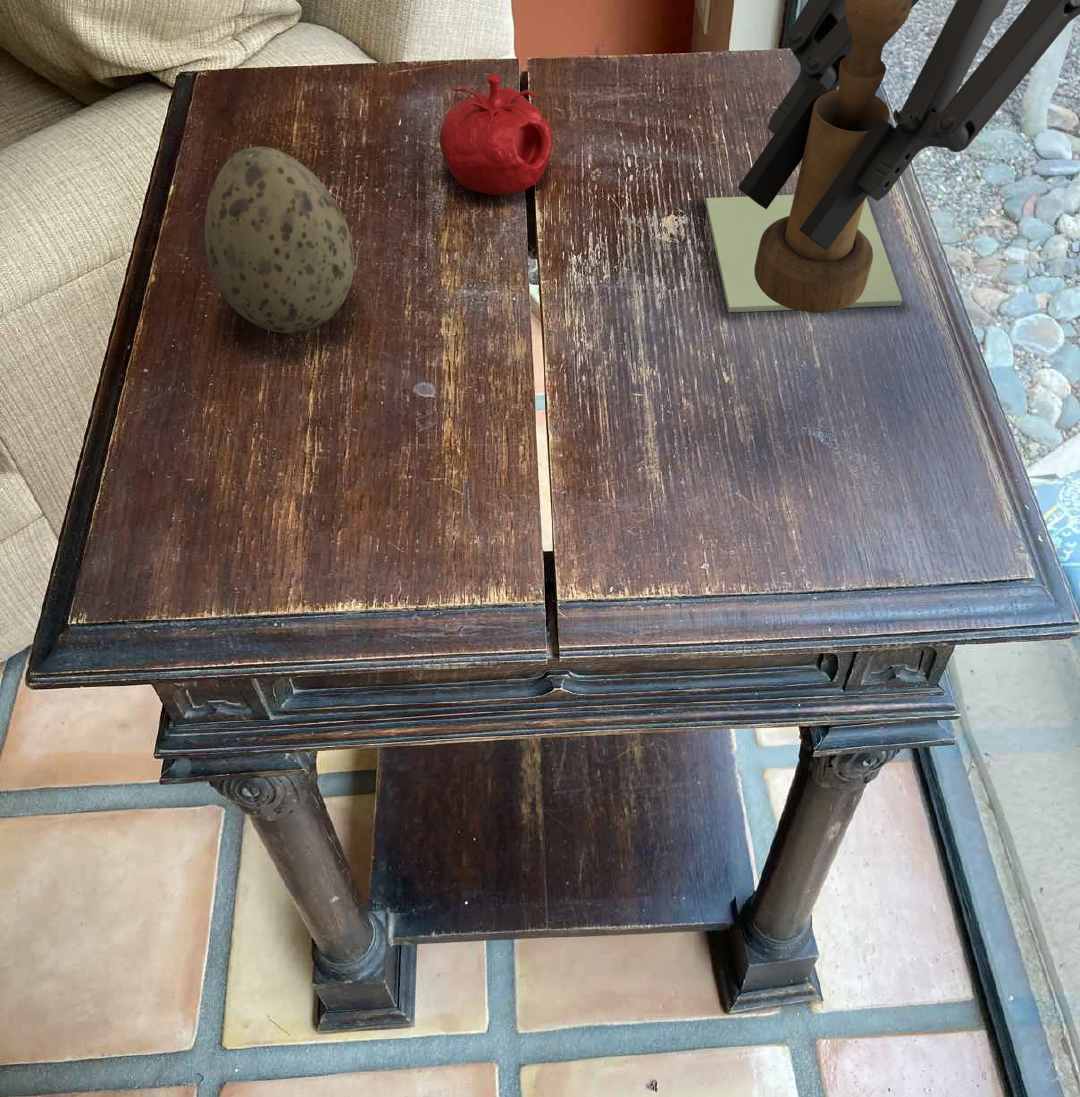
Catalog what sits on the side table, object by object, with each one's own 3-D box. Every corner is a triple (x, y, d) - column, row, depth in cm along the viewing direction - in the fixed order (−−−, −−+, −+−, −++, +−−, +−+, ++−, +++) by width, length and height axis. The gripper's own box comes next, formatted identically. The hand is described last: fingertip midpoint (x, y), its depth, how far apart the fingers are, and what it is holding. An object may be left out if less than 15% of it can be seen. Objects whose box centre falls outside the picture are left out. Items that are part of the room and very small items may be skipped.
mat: (900, 305, 85) (902, 300, 84) (727, 312, 84) (728, 306, 84) (862, 197, 93) (864, 191, 92) (704, 203, 92) (705, 197, 92)
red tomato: (437, 208, 93) (426, 112, 85) (449, 141, 98) (440, 45, 91) (549, 211, 92) (548, 115, 84) (555, 143, 98) (555, 47, 90)
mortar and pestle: (865, 248, 65) (956, -55, 50) (864, 321, 61) (963, 17, 46) (757, 237, 66) (815, -65, 51) (750, 308, 62) (811, 5, 47)
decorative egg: (210, 304, 86) (152, 140, 74) (329, 256, 89) (293, 92, 77) (264, 384, 81) (211, 222, 68) (388, 330, 84) (359, 166, 71)
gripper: (1260, -110, 48) (922, 318, 56) (964, -222, 56) (703, 168, 64) (1261, -213, 42) (881, 284, 50) (928, -323, 50) (644, 123, 58)
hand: (782, 218), depth 57 cm, fingers closed on mortar and pestle, 4 cm apart
